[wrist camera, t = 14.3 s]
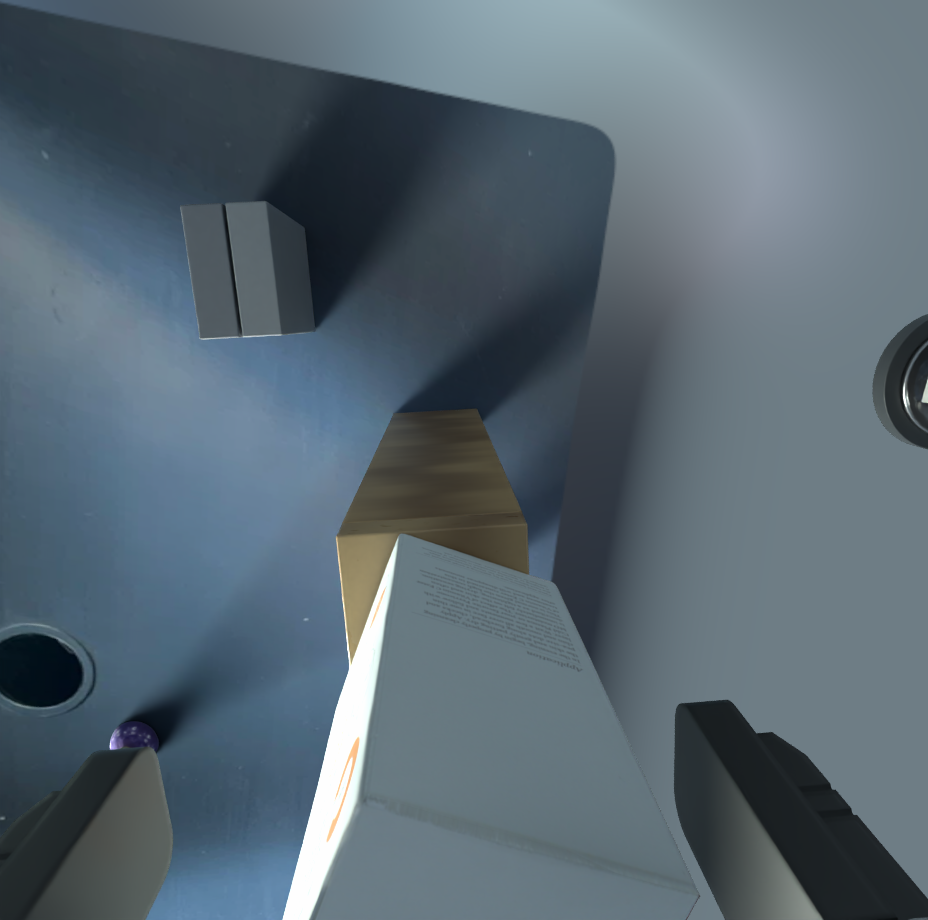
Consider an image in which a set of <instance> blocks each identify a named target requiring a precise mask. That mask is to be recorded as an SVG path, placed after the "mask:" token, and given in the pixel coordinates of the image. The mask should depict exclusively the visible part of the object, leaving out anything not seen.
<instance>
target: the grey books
mask: <svg viewBox="0 0 928 920" xmlns="http://www.w3.org/2000/svg"><path fill="white" fill-rule="evenodd" d="M225 205H226V206H225ZM225 205H223V204H222V203H213V204H192V205H181V206H180V207H181V214H182V221H183V227H184V234H185V241H186V248H187V255H188V262H189V268H190V275H191V282H192V289H193V296H194V302H195V309H196V316H197V323H198V330H199V337H200V339H201V340H202V339H220V338H239V337H257V336H275V335H288V334H298V333H309V332H315V322H314V313H313V303H312V294H311V284H310V275H309V265H308V256H307V246H306V237H305V228H304V227H303V226H301V225H300V224H298V223H297V222H296V221H294V220H293V219H291V218H290V217H288V216H287V215H285V214H284V213H283V212H281V211H280V210H278V209H277V208H275V207H274V206H272V205H271V204H270V203H268V202H267V201H254V202H234V203H226V204H225Z"/></svg>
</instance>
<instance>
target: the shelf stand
mask: <svg viewBox="0 0 928 920" xmlns="http://www.w3.org/2000/svg"><path fill="white" fill-rule="evenodd" d="M513 512H522V511H521V508H520V506H519V504H518V502H517V499H516V497H515V495H514V492H513V490H512V488H511V486H510V483H509V481H508V479H507V476H506V474H505V472H504V470H503V467H502V465H501V463H500V461H499V458H498V456H497V454H496V451H495V449H494V447H493V445H492V442H491V440H490V438H489V435H488V433H487V431H486V429H485V426H484V424H483V422H482V419H481V417H480V415H479V413H478V410H477V409H460V410H443V411H426V412H409V413H394V414H393V416H392V418H391V421H390V423H389V425H388V427H387V429H386V431H385V433H384V435H383V438H382V440H381V442H380V444H379V446H378V448H377V450H376V452H375V455H374V457H373V459H372V461H371V463H370V465H369V467H368V469H367V472H366V474H365V476H364V478H363V480H362V482H361V484H360V486H359V489H358V491H357V493H356V495H355V497H354V499H353V501H352V503H351V506H350V508H349V510H348V512H347V514H346V516H345V518H344V520H343V523H356V522H372V521H387V520H403V519H419V518H435V517H450V516H466V515H482V514H498V513H513ZM343 523H342V524H343Z"/></svg>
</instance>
